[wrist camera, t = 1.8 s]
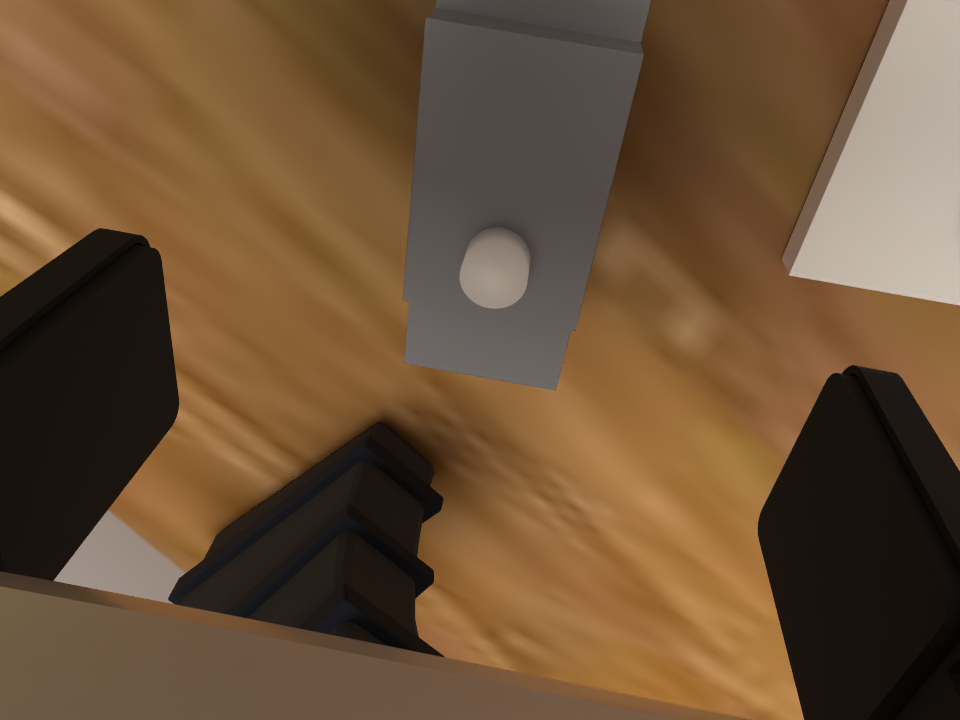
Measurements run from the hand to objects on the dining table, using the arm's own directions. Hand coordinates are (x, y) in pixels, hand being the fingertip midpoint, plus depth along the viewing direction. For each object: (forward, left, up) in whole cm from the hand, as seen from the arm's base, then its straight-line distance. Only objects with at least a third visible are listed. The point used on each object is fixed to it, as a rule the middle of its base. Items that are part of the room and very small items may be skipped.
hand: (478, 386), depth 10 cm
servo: (-1, 0, -12) cm, 12 cm away
